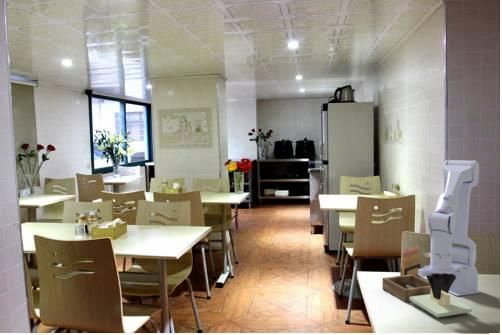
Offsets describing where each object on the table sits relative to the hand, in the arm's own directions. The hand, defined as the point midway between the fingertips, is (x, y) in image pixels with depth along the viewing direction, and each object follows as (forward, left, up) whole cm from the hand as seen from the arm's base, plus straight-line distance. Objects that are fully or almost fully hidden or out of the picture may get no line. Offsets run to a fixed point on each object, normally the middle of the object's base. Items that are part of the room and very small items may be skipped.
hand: (439, 297), depth 122 cm
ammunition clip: (-10, -26, -4) cm, 28 cm away
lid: (0, 0, -3) cm, 3 cm away
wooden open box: (0, -14, -4) cm, 15 cm away
